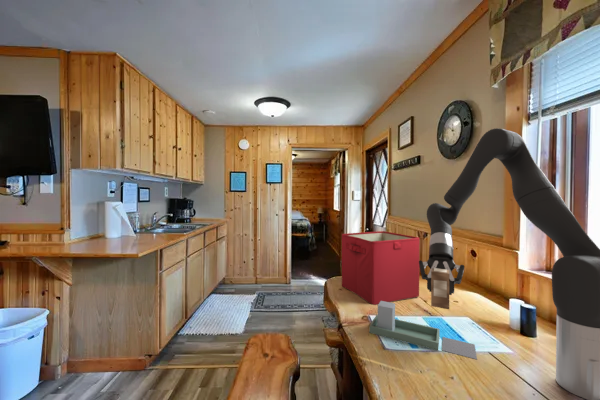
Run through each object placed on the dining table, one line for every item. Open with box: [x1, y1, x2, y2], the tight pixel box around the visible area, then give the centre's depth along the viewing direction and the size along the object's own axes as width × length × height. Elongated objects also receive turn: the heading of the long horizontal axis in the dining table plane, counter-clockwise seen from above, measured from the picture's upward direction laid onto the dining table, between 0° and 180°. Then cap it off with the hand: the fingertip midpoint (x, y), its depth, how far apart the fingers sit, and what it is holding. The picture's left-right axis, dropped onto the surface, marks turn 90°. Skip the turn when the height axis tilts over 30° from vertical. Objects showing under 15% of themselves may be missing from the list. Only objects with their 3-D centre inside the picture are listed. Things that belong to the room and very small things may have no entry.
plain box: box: [377, 301, 396, 331], centre depth 94 cm, size 5×5×9 cm
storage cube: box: [341, 230, 420, 306], centre depth 133 cm, size 32×28×29 cm
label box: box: [430, 268, 450, 310], centre depth 85 cm, size 5×6×11 cm
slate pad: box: [441, 336, 478, 361], centre depth 83 cm, size 9×9×1 cm
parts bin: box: [368, 314, 441, 351], centre depth 91 cm, size 21×10×3 cm, turn 60°
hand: (440, 292), depth 83 cm, fingers closed on label box, 5 cm apart
